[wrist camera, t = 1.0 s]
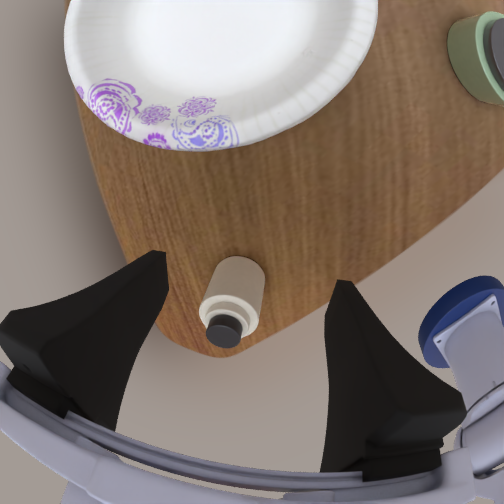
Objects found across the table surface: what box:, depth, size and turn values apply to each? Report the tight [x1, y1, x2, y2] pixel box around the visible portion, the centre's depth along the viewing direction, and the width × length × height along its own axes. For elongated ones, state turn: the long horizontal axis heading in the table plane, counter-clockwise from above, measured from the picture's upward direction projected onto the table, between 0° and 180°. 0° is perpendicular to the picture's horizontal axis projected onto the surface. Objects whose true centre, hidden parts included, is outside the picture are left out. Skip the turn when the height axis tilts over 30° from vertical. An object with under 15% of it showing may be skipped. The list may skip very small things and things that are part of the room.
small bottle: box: [199, 256, 265, 348], centre depth 21 cm, size 4×4×7 cm
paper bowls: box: [64, 0, 378, 152], centre depth 11 cm, size 15×15×8 cm
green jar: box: [447, 12, 504, 107], centre depth 9 cm, size 7×7×5 cm
